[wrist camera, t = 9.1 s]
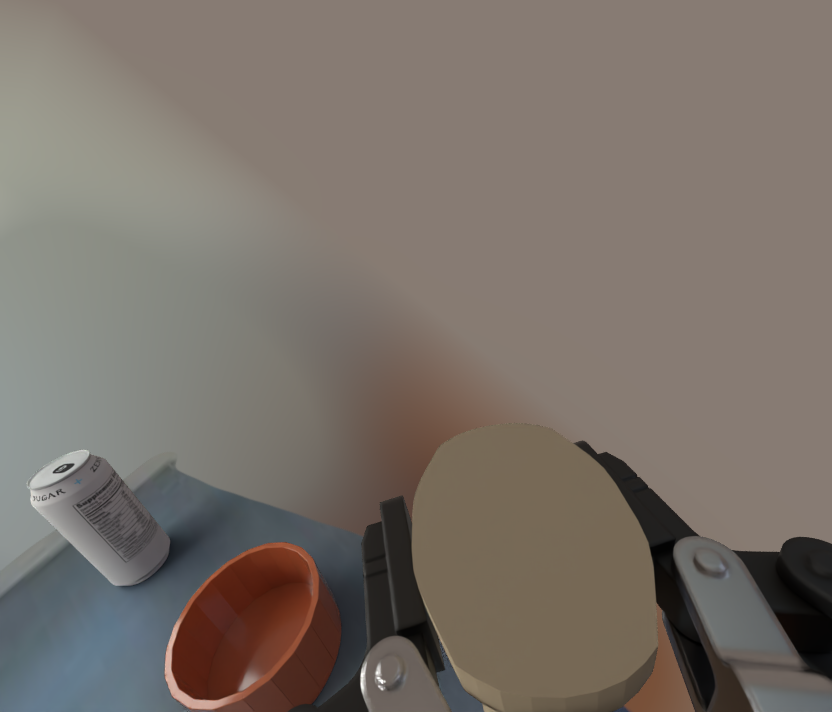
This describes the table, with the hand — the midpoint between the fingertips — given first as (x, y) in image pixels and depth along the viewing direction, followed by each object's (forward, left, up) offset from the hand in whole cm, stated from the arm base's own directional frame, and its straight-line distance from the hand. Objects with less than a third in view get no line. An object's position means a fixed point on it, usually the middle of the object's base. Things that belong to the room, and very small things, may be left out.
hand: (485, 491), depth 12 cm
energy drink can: (+24, -35, -24) cm, 49 cm away
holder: (+13, -16, -24) cm, 32 cm away
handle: (+1, +3, -13) cm, 13 cm away
